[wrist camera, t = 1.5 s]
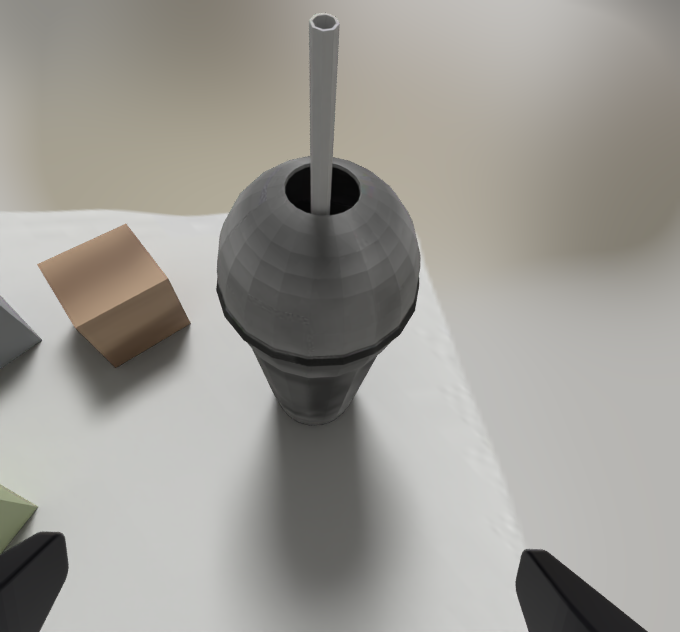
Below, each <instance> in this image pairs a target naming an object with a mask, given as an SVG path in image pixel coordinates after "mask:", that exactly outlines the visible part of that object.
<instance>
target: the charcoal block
mask: <svg viewBox="0 0 680 632" xmlns="http://www.w3.org/2000/svg"><path fill="white" fill-rule="evenodd" d="M41 340H42V339H41V338H40V337H39V336H38V335H37V334H36V333H35V332H34V331H33V330H32V329H31V328H30V327H29V325H28V324H27V323H26V322H25V321H24V320H23V319H22V318H21V317H20V316H19V315H18V314H17V313H16V312H15V311H14V310H13V308H12V307H11V306H10V305H9V304H8V303H7V302H6V301H5V300H4V299H3V298H2V297H1V296H0V369H1V368H2V367H4V366H5V365H7V364H8V363H10V362H11V361H12V360H14V359H15V358H17V357H18V356H20V355H21V354H23V353H24V352H25V351H27V350H28V349H30V348H31V347H33V346H34V345H36V344H37V343H38V342H40V341H41Z"/></svg>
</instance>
